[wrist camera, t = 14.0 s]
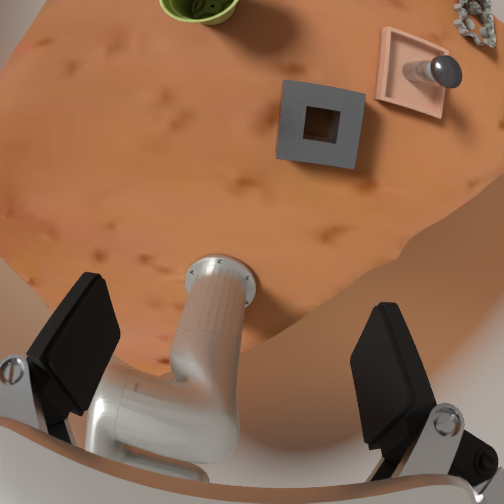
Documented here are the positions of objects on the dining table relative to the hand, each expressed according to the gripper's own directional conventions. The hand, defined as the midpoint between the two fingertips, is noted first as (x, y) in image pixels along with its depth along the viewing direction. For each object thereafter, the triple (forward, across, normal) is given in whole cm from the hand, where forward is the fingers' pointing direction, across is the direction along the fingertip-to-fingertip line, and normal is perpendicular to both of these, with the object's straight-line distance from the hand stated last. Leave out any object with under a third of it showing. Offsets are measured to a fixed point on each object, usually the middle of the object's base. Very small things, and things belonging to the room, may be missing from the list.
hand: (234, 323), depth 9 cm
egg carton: (+34, -31, -30) cm, 55 cm away
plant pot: (+34, +8, -20) cm, 40 cm away
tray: (+33, -20, -14) cm, 41 cm away
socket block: (+33, -7, -4) cm, 34 cm away
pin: (+33, -20, -15) cm, 41 cm away
